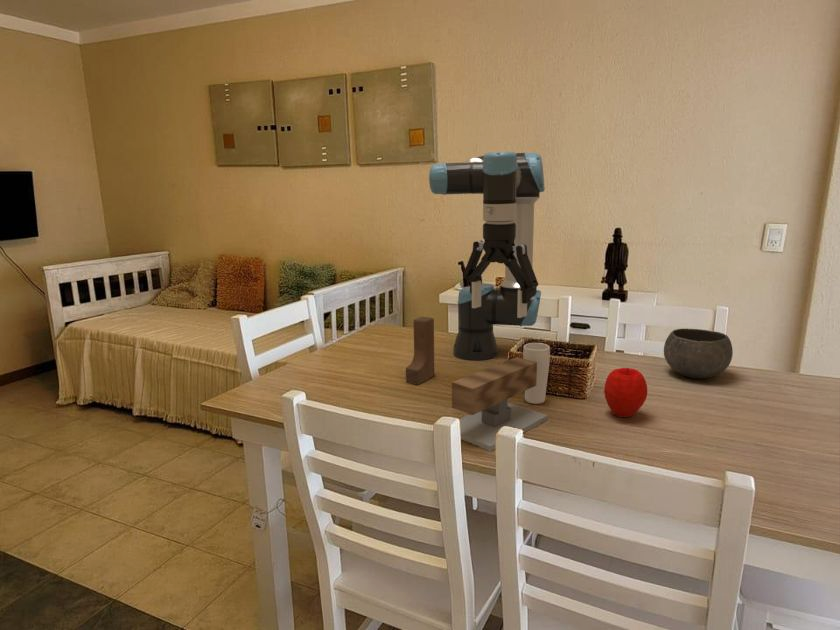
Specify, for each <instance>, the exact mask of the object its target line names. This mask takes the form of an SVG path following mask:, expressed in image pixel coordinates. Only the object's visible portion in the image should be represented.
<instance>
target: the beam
mask: <svg viewBox="0 0 840 630" xmlns="http://www.w3.org/2000/svg"><path fill="white" fill-rule="evenodd" d="M536 377H537V362H534V361H530V360H526V359H523V357H522V358H521V357H517V356H516V357H513V358H511V359H508V360H505V361H503V362H502V363H498V364H495V365H493V366H490V367H488V368H485V369H482V370H480V371H477V372H474V373H472V374H470V375H468V376H464V377H461V378H459V379H457V380H454V381H452V382H451V408H452V409H455V410H457V411H460V412H463V413H466V414H468V415H470V414H471V415H474V414H476V413H478V412H481V411H483V410H485V409H487V408H489V407H491V406H493V405H496V404H498V403H500V402H502V401H504V400H506V399H507V400H509V399H510V398H512V397H514V396H516V395H519V394H521V393H523V392H525V391H526V390H528V389H530V388H532V387H534V386H536Z"/></svg>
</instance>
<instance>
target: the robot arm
mask: <svg viewBox="0 0 840 630" xmlns="http://www.w3.org/2000/svg"><path fill="white" fill-rule="evenodd" d="M543 166H544V165H543V161H542V156H541V155H540V154H539V153H535V152H517V153H515V152H514V151H499V152H498V151H495V152H491V151H490V152H487V153H484V155H480V156H476V157H472V158H470V159H467V160H465V161H464V162H463V161H462V162H442V163H433V164H432V165H431V166H430V169H429V175H428V181H429V188H430V191H431V192H432V193H433V194H434V195H443V196H445V195H467V194H469V195H470V194H471V195H476V194H479V195H481V194H482V199H483V200H482V221H484V223H483V225H482V238H483V240H477V241H473V243H472V251H471V254H470V256H469V259H468V261H467V264H466V266H465V269H464V271H463V274H462V277H463V278H464V279H467V280H468V282H469V285H468V286H465V287H462V288H461V289H459V290H458V291H459V292H458V299H457V305H458V306H457V314H458V315H457V316H458V318H457V319H458V321H457V323H458V325H457V326H458V332H457V335H456V338H455V341H454V345H453V347H452V350H453V351H452V352H453V355H454V356H455V357H457V358H459V359H463V360H469V361H470V360H471V361H482V360H490V359H493V358H495V357H498V355H499V346H498V343H497V340H496V336H495V333H494V325H496V326H498V325H500V326H517V327H531V326H534V325H535V324H536V323H537V321H538V320H537V318H538V313H539V308H540V302H541V298H542V297H541V295H542V291H541V290H539V289H537V287H538V286H539V282H538V279H537V276H536V273H535V272H534V269H533V267H534V265H533V262H534V261H533V259H534V258H533V257H534V231H535V230H534V227H535V226H534V225H535V223H534V222H535V204H536V203H537V202H538V201H539V199H540V194H541V193H543V192H545V190H546V189H545V175H544V167H543ZM483 251H484V252H485V253H484V254H483ZM482 254H483V255H482ZM481 256H482V258H481ZM479 261H480V262H479ZM491 263H498V264H501V265H502V264H504V269H505V270H504V280H503V281H502V282H501V283H500V284H499V285H500V286H499V287H500V288H498V289H496V288H495V286H494V285H493V284H492V283H482V280H480V277H481V276H482V275H483V273H484V272H485V271H486V270H487V268H488V267H489V265H490V264H491Z"/></svg>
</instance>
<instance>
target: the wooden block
mask: <svg viewBox="0 0 840 630" xmlns="http://www.w3.org/2000/svg"><path fill="white" fill-rule="evenodd" d="M434 321H435V319H434V317H428V316H427V317H426V316H420V317H418V318H414V319H413V350H414V352H413V356H412V357H413V358H412V361H411V363H410V364H409V365H408V366H406V368H405V382H406V383H408V384H414V385H420V384H422V383H424V382H426V381H427V380H429V379H431V378H433V377H434V376H435V374H436V373H435V372H436V371H435V326H434V325H435V322H434Z"/></svg>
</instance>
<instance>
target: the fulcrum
mask: <svg viewBox="0 0 840 630" xmlns="http://www.w3.org/2000/svg"><path fill="white" fill-rule="evenodd" d="M548 417H549V416H548V415H547V414H545V413H541V412H538V411H535V410H533V409H529V408H527V407H523V406H520V405H516V404H514V403H511V402H508V399H506V400H504V401H502V402H500V403H498V404H496V405H493V406H491V407H489V408H487V409H485V410H483V411H481V412H478V413H476V414H474V415H471V414H468V415H466V416H463V417H461V418H459V419H460V422H461V438H462V439H461V441H464V442H467V443H469V444H471V443H472V445H474V446H476V445H477V446H476V447H478V446H479V447H478V448H481V449H483V448H484V449H483V450H485V449H486V450H485V451H488V452H492V451H494V450H495V437H496V433H497V432H498V430H499V429H500V428H501V427H503V426H510V427H513V428H518V429H522V430H523V431H524V433H523V434H525V433H527V432H528V431H530V430H532V429H534V428H535V427H537V426H539V425H541V424H543V423H544V422H546V421H548Z"/></svg>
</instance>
